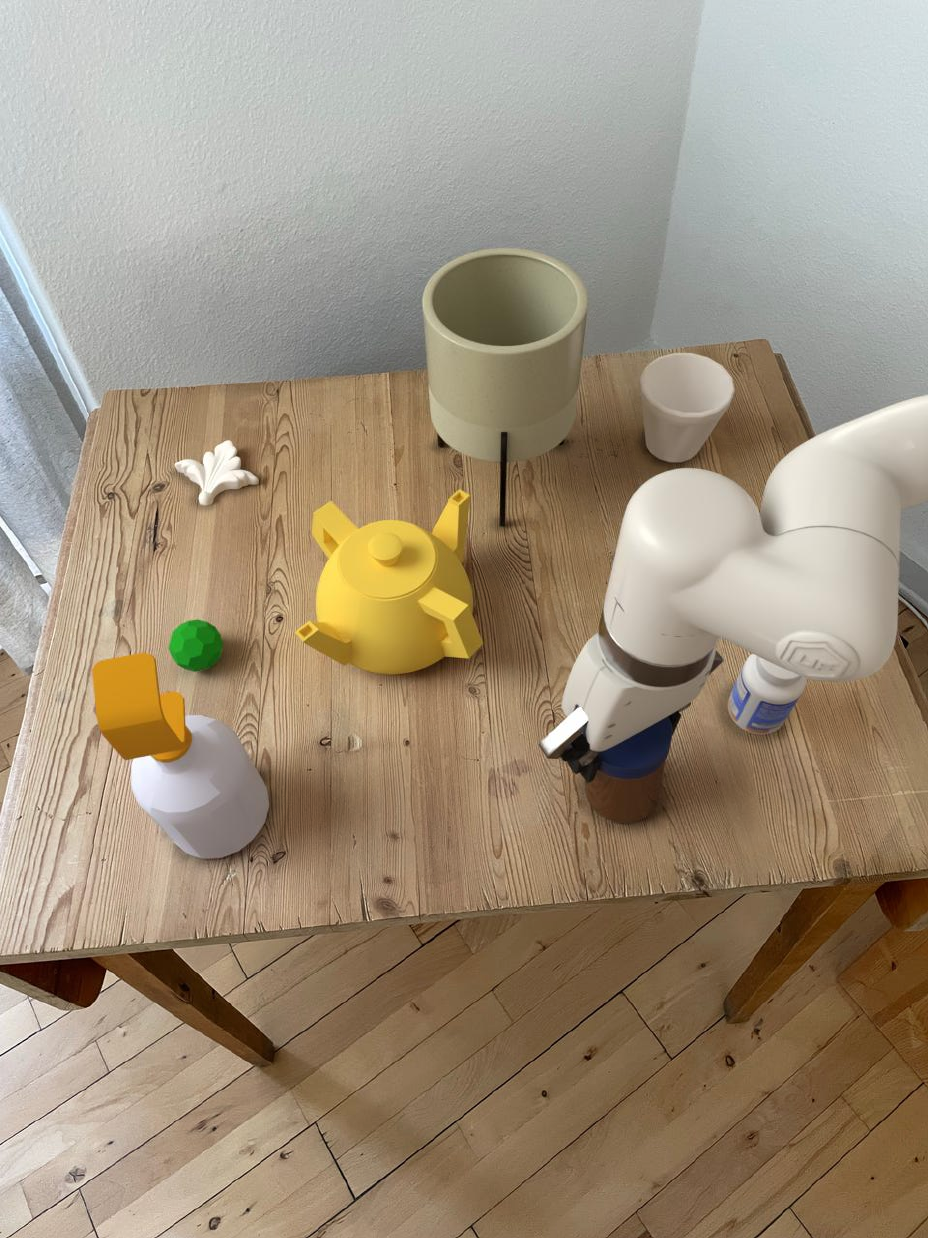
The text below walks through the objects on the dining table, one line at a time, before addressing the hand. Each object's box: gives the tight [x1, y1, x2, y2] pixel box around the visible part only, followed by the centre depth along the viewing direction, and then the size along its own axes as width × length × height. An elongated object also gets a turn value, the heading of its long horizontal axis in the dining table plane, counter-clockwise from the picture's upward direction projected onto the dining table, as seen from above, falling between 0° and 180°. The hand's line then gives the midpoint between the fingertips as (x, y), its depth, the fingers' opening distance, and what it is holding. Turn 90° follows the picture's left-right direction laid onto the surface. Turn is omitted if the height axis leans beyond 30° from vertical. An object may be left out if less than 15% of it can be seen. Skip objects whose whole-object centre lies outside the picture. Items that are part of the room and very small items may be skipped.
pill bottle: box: [727, 653, 808, 736], centre depth 78 cm, size 5×5×10 cm
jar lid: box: [582, 716, 673, 779], centre depth 69 cm, size 7×7×2 cm
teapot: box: [293, 488, 484, 675], centre depth 84 cm, size 17×17×12 cm
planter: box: [421, 247, 589, 527], centre depth 90 cm, size 15×16×23 cm
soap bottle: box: [91, 651, 270, 860], centre depth 67 cm, size 9×9×25 cm
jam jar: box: [584, 759, 667, 824], centre depth 73 cm, size 7×7×11 cm
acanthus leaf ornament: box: [174, 440, 260, 507], centre depth 99 cm, size 8×7×2 cm
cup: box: [638, 352, 736, 464], centre depth 97 cm, size 10×10×9 cm
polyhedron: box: [168, 619, 224, 673], centre depth 84 cm, size 5×5×5 cm
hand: (619, 744), depth 71 cm, fingers closed on jar lid, 7 cm apart
